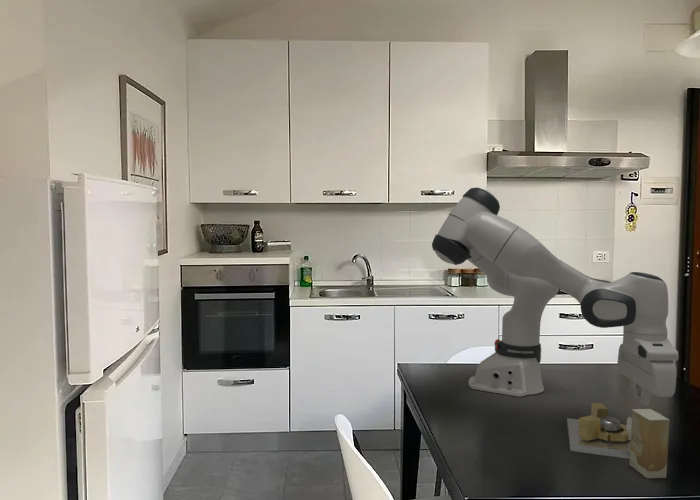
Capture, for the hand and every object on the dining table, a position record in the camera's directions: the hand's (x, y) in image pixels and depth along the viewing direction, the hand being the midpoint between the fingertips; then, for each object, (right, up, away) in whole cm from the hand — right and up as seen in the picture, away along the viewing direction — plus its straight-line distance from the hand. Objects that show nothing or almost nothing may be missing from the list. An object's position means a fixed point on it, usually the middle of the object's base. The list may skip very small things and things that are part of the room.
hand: (642, 403), depth 124 cm
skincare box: (-6, -11, -13) cm, 18 cm away
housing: (-7, -10, +2) cm, 12 cm away
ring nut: (-7, -8, +3) cm, 11 cm away
